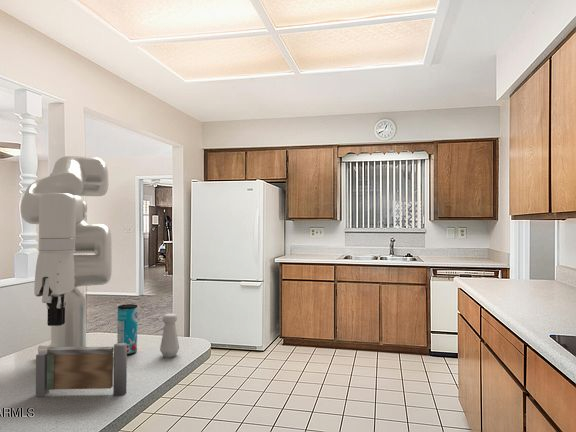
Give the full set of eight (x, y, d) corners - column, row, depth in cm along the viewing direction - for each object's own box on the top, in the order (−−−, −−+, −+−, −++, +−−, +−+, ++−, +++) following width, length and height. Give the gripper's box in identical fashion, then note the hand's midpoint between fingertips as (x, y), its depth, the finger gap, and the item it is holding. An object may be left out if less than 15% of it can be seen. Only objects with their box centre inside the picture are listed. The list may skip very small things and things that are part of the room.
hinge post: (111, 395, 102) (112, 346, 102) (115, 390, 105) (116, 342, 105) (124, 395, 102) (124, 346, 102) (128, 390, 105) (128, 342, 105)
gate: (113, 385, 104) (113, 346, 104) (110, 388, 102) (110, 349, 102) (50, 386, 103) (51, 347, 103) (46, 390, 101) (47, 349, 101)
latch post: (35, 396, 101) (36, 355, 101) (40, 392, 103) (41, 352, 103) (44, 396, 101) (44, 355, 101) (49, 392, 103) (49, 351, 103)
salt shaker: (181, 353, 134) (182, 312, 134) (175, 359, 128) (175, 316, 128) (164, 352, 135) (164, 312, 135) (156, 358, 129) (157, 316, 129)
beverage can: (133, 356, 131) (134, 308, 131) (114, 356, 131) (114, 308, 131) (139, 350, 137) (139, 304, 137) (120, 350, 136) (121, 304, 137)
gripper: (56, 244, 105) (55, 317, 104) (22, 247, 90) (21, 333, 89) (87, 244, 105) (86, 317, 105) (58, 247, 90) (57, 333, 90)
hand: (56, 324), depth 97 cm, fingers closed
